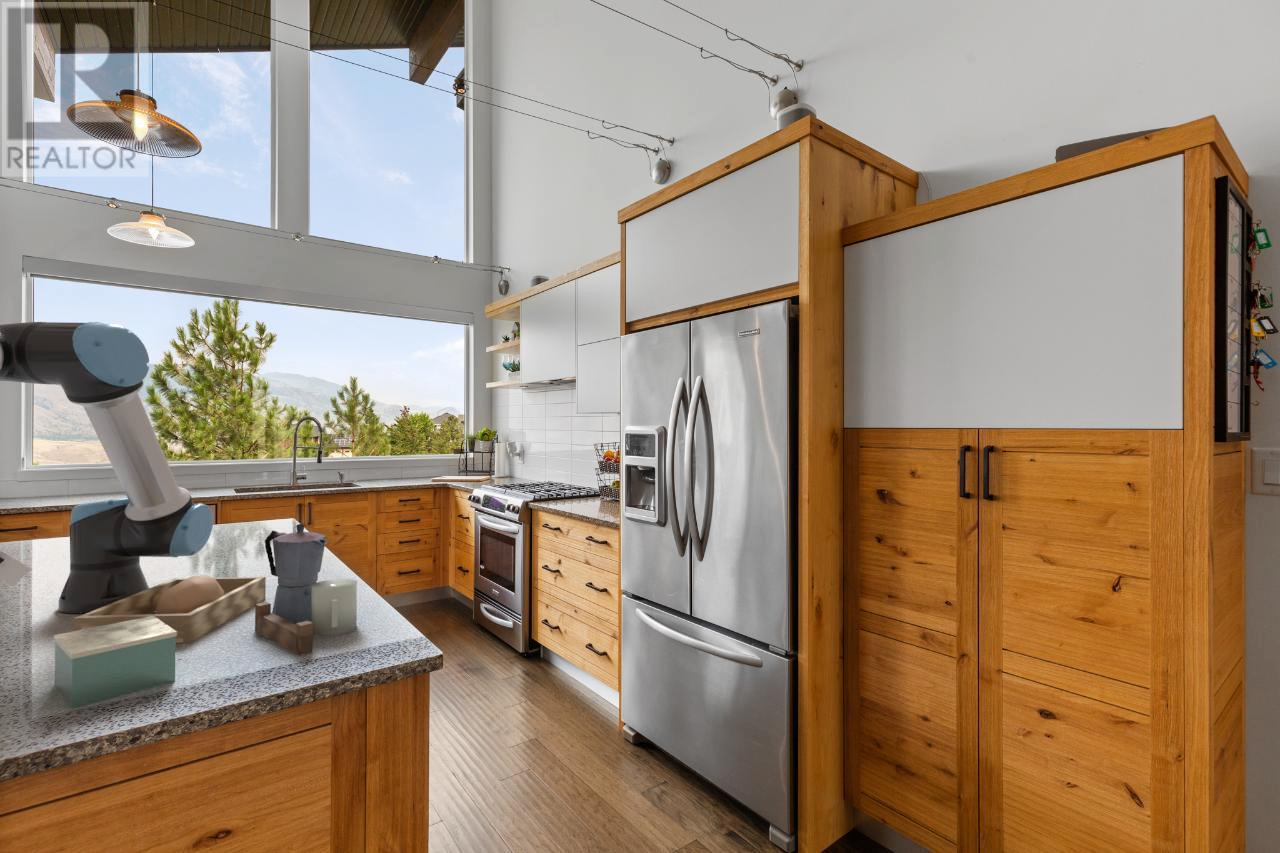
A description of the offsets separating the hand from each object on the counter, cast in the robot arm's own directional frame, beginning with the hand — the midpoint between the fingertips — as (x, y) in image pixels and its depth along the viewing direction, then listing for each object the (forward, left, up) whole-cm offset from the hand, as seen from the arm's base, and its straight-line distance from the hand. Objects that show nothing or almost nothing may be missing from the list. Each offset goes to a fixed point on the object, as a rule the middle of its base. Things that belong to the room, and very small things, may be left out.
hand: (21, 576), depth 86 cm
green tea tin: (-8, +7, -19) cm, 22 cm away
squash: (-40, -2, -19) cm, 44 cm away
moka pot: (-37, +21, -19) cm, 46 cm away
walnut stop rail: (-25, +24, -19) cm, 39 cm away
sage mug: (-29, +32, -19) cm, 47 cm away
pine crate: (-40, -2, -19) cm, 44 cm away
